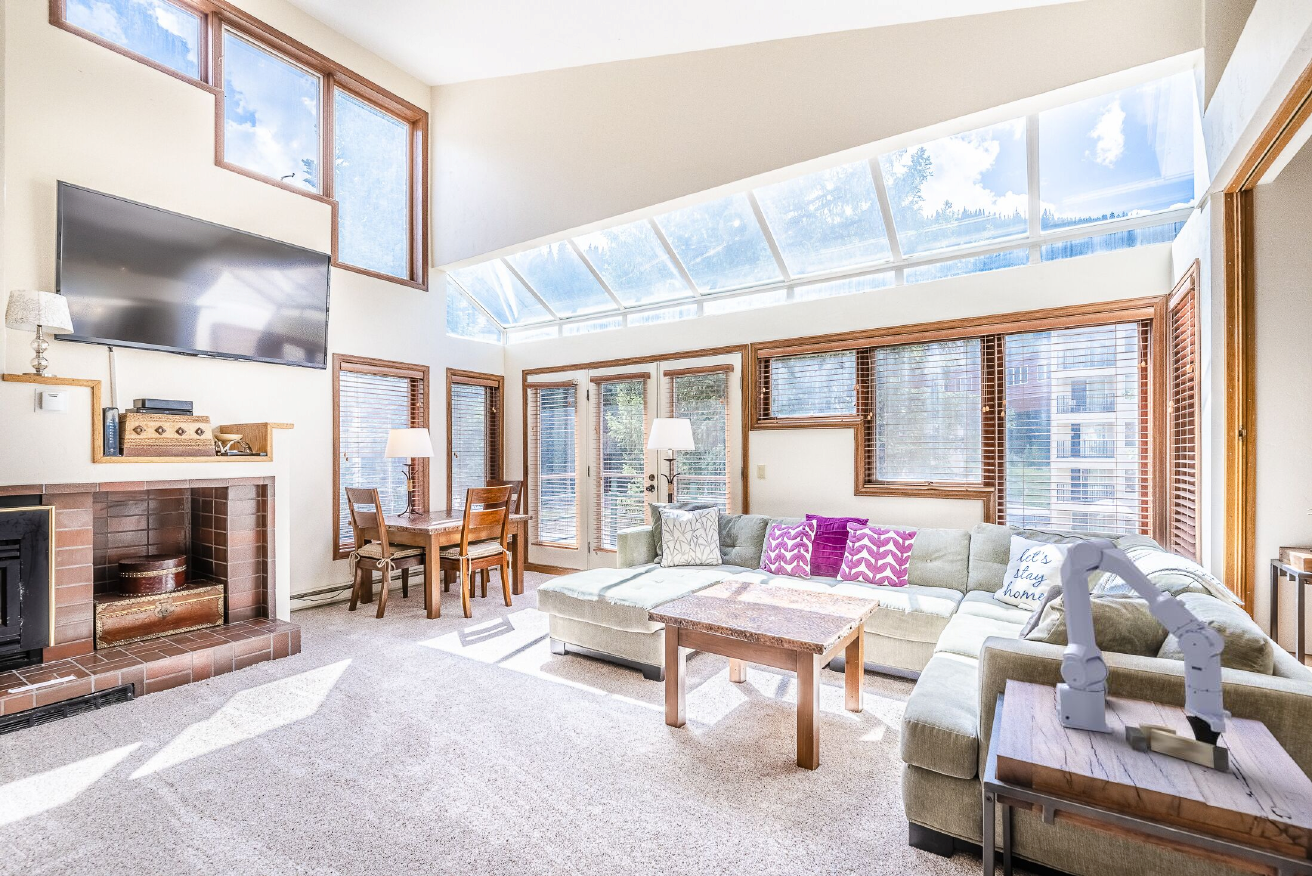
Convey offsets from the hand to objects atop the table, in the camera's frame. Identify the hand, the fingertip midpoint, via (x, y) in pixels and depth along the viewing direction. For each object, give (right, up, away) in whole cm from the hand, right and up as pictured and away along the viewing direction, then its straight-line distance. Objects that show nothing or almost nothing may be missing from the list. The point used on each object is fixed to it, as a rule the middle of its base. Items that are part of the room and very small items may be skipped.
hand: (1206, 754), depth 125 cm
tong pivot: (-6, -2, +7) cm, 9 cm away
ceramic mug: (0, -4, +36) cm, 36 cm away
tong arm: (-3, -1, +1) cm, 3 cm away
